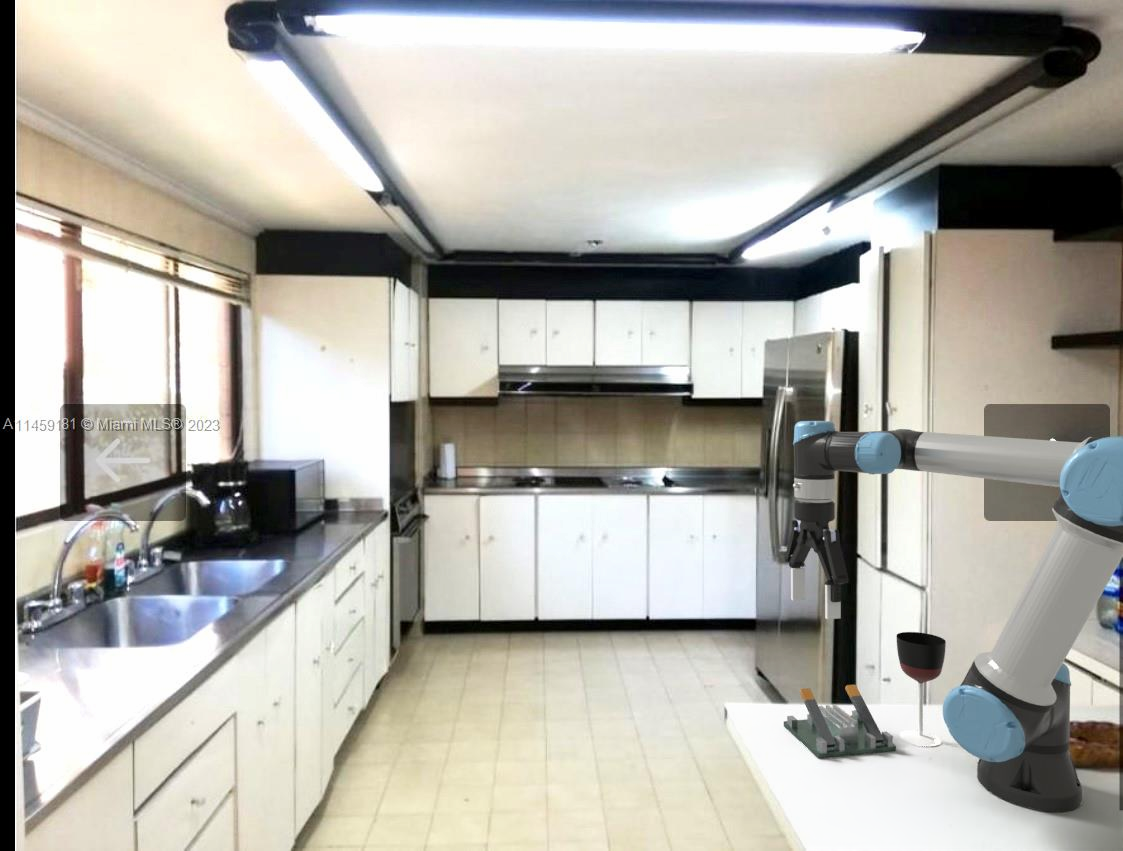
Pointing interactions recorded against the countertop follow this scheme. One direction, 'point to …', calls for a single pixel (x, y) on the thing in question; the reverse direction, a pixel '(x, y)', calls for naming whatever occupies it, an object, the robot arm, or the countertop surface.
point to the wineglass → (920, 673)
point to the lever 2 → (864, 712)
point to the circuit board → (838, 735)
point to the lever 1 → (817, 717)
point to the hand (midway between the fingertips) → (814, 608)
